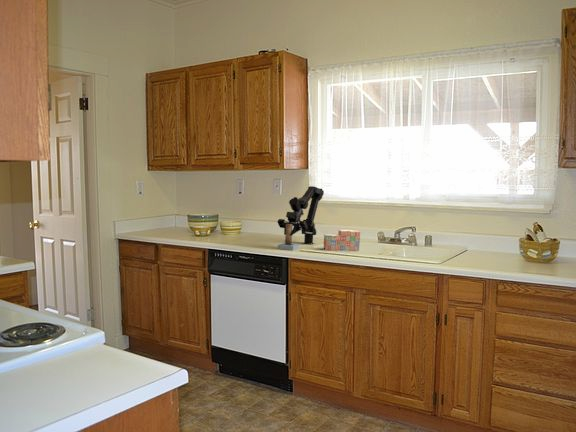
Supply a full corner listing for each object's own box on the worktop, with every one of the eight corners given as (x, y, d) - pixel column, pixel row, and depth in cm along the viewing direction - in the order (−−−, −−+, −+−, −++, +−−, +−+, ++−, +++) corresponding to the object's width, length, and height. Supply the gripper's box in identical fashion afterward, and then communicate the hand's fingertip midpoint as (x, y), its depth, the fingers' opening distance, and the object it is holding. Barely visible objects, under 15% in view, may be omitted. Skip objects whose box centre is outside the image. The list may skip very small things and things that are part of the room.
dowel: (284, 244, 319) (285, 223, 318) (291, 244, 319) (291, 223, 318) (285, 245, 315) (286, 224, 314) (292, 245, 315) (293, 224, 314)
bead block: (283, 246, 324) (283, 242, 323) (298, 248, 320) (298, 244, 320) (277, 248, 314) (277, 244, 314) (293, 250, 311) (293, 246, 310)
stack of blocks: (325, 250, 317) (326, 230, 316) (323, 248, 324) (324, 229, 323) (359, 251, 320) (360, 231, 319) (356, 249, 327) (357, 230, 326)
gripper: (279, 206, 323) (270, 225, 314) (306, 208, 314) (297, 227, 306) (284, 217, 330) (275, 236, 322) (311, 220, 322) (303, 239, 313)
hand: (287, 234), depth 315 cm, fingers closed on dowel, 4 cm apart
